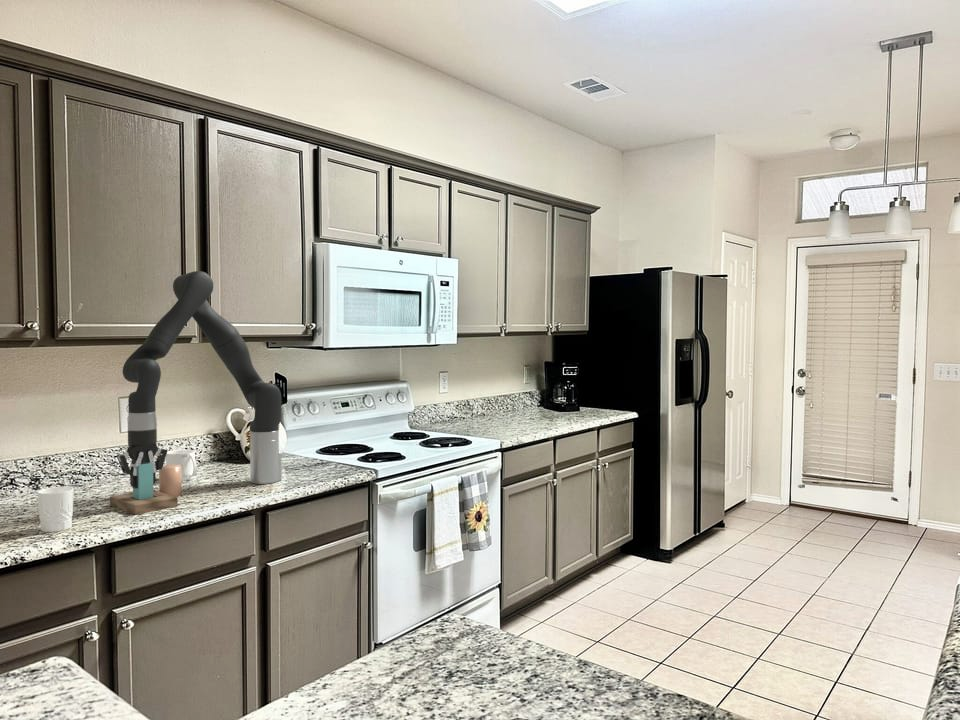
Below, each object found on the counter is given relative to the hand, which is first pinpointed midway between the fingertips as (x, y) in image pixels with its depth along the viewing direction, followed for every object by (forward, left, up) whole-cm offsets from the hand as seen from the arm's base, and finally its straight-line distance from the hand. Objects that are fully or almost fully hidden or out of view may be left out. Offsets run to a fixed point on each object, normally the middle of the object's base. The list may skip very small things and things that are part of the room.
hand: (143, 486), depth 200 cm
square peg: (0, 0, -3) cm, 3 cm away
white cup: (+25, +6, -6) cm, 26 cm away
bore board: (0, 0, -6) cm, 6 cm away
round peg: (-11, -6, -6) cm, 14 cm away
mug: (-25, -25, -6) cm, 36 cm away
